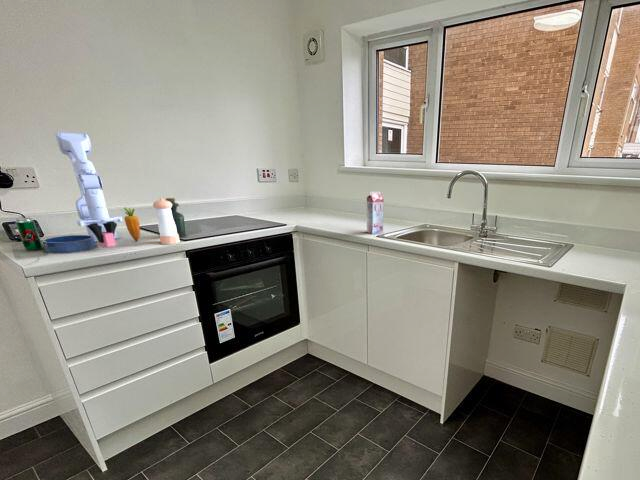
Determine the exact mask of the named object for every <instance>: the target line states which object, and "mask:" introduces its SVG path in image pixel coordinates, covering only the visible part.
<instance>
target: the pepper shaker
mask: <svg viewBox="0 0 640 480" xmlns="http://www.w3.org/2000/svg"><path fill="white" fill-rule="evenodd" d="M152 207H153V208H154V209H155V211H156V215H157V228H158V231H159V236H158V237H159V241H160V244H161V245H173V244H174V245H175V244H180V242H181V240H180V238H179V235H178V234H177V229H176V225H175V222H174V220H173V217H172V212H171V208H172V203H171V202H169V201H166V199H165V200H164V198H163V197H162V198H161V197H160V198H159V199H158V200H154V202H152Z"/></svg>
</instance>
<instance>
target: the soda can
mask: <svg viewBox="0 0 640 480" xmlns="http://www.w3.org/2000/svg"><path fill="white" fill-rule="evenodd" d="M15 226H16V228H17V231H18V234H19V237H20V239H21V242H22V246H23V247H24V250H25V251H29V252H33V251H40V250H42V249H44V245H43V242H42V241H41V238H40V235H39V232H38V228H37V225H36V224H35V221H34V220H33V218H31V217H24V218H22V217H21V218H16V219H15Z"/></svg>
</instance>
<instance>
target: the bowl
mask: <svg viewBox="0 0 640 480" xmlns="http://www.w3.org/2000/svg"><path fill="white" fill-rule="evenodd" d="M41 243H42V246H43V249H44V250H45V252H46V253H50V254H66V253H77V252H84V251H87V250H92V249H95V248H96V247H97V245H96V242H95V241H94V238H93V236H89V235H88V234H72V235H71V234H70V235H61V236H60V235H59V236H53V237H48V238H45V239H43V240H42V241H41Z"/></svg>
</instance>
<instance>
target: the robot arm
mask: <svg viewBox="0 0 640 480" xmlns="http://www.w3.org/2000/svg"><path fill="white" fill-rule="evenodd" d="M54 135H55V138H56V142H57V145H58V148H59V151H60V152H61V154H63V155H66V156H68V158H69V159H70V161H71V164H72V168H73V171H74V174H75V177H76V181H77V184H78V188H79V191H80V195H81V196H80V197H79V198H77V199H76V200H75V208H76V212H77V215H78V217H79V220H76V222H77V226H78V227H85V228H86V232H87V235H89V236H93V238H94V241H95V243H97V242H98V241H99V242H100V243H104V239H103V235H102V232H110V233H113V235H114V239H115V240H117V239H119V236H118V233H117V231H116V230H117V226H118V224H117V222H120V223H121V222H124V219H123V217H122V216H121V215H118V216H110V215H109V210H108V208H107V203H106V200H105V195H104V191H103V189H104V185H103V181H102V178H101V176H100V174H99V173H98V172H97V170H96V168H95V166H94V164H93V162H92V161H91V160H88V156H90V155H91V153H92V144H91V139H90V137H89V135H88V134H87V133H80V132H63V131H61V132H60V131H55V133H54Z"/></svg>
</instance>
